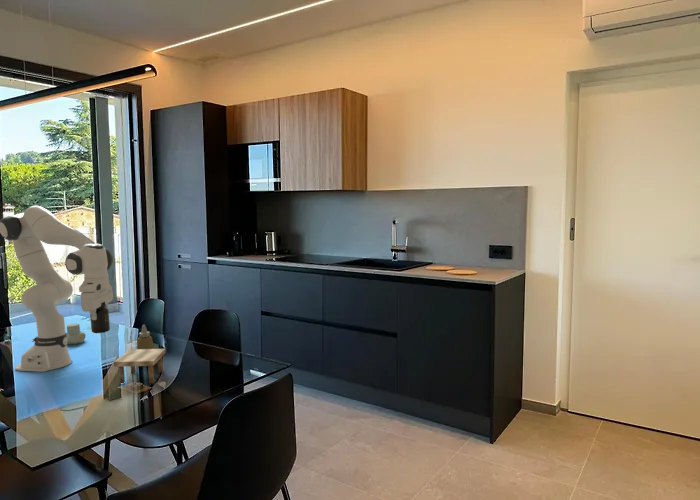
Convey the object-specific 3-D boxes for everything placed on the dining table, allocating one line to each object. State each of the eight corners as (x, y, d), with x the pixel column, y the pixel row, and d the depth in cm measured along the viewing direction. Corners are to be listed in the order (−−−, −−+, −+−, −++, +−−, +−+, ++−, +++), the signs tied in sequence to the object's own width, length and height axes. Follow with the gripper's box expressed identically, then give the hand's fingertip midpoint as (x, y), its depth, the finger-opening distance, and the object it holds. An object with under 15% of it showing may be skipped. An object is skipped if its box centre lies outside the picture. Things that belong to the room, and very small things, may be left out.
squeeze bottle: (148, 365, 229) (146, 327, 226) (133, 364, 230) (130, 327, 228) (158, 359, 236) (156, 323, 234) (143, 358, 238) (141, 322, 236)
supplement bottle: (106, 327, 208) (104, 299, 207) (112, 330, 204) (110, 302, 202) (89, 331, 203) (86, 302, 202) (95, 334, 199) (92, 305, 197)
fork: (173, 405, 193) (173, 399, 192) (152, 384, 208) (152, 378, 207) (180, 403, 195) (180, 396, 194) (159, 382, 210) (159, 376, 209)
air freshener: (76, 346, 258) (74, 327, 257) (60, 346, 258) (59, 327, 257) (87, 339, 269) (86, 321, 268) (72, 339, 269) (71, 322, 268)
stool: (115, 385, 206) (113, 362, 205) (130, 371, 222) (129, 349, 221) (154, 384, 207) (153, 361, 206) (166, 370, 223) (165, 348, 222)
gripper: (100, 279, 211) (103, 310, 213) (76, 288, 191) (79, 323, 192) (115, 278, 211) (118, 310, 213) (93, 288, 191) (95, 323, 193)
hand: (99, 316), depth 203 cm, fingers closed on supplement bottle, 7 cm apart
